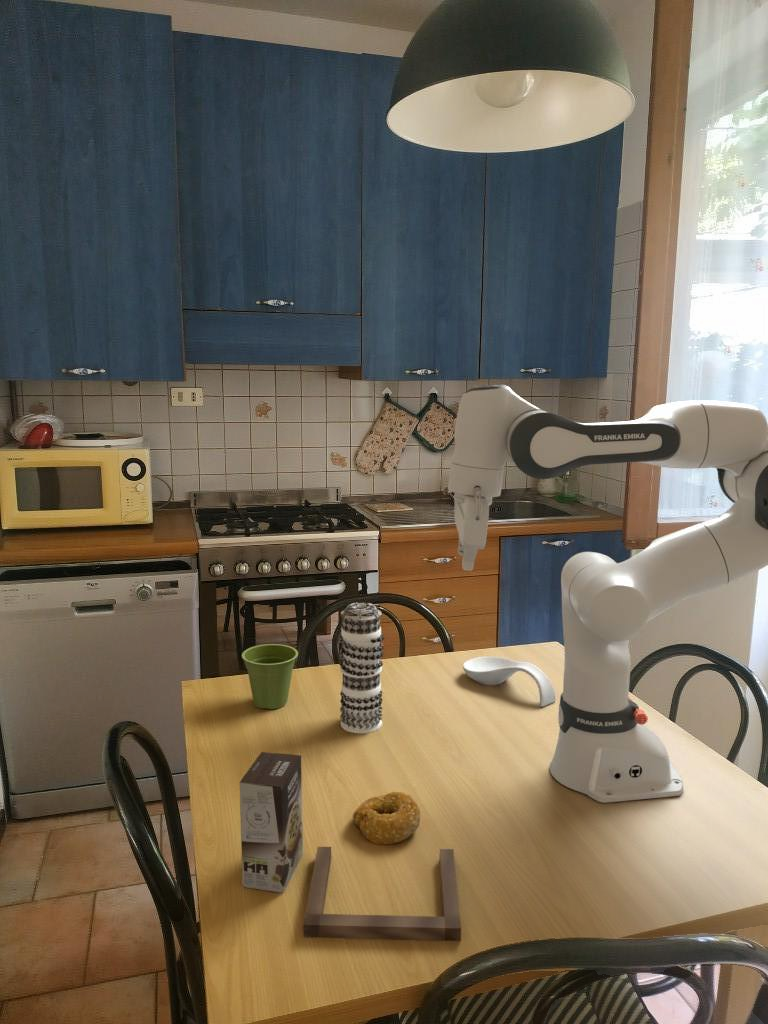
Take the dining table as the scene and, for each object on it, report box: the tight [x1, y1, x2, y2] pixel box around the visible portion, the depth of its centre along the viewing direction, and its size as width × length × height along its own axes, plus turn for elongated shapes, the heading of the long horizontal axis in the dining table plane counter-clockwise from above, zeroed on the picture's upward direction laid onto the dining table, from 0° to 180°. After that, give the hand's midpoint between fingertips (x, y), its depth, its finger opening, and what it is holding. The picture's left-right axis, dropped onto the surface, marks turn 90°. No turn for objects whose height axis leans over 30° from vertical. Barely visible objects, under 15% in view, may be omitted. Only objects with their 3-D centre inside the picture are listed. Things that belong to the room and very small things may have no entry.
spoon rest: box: [462, 655, 556, 708], centre depth 172 cm, size 24×12×7 cm, turn 41°
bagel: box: [352, 791, 421, 845], centre depth 120 cm, size 10×11×5 cm
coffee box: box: [239, 751, 304, 894], centre depth 109 cm, size 9×6×16 cm
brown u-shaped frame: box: [302, 846, 462, 941], centre depth 105 cm, size 20×16×2 cm
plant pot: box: [241, 643, 299, 710], centre depth 163 cm, size 12×12×11 cm
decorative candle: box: [337, 601, 385, 734], centre depth 153 cm, size 9×9×25 cm
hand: (464, 562), depth 129 cm, fingers open, 8 cm apart
